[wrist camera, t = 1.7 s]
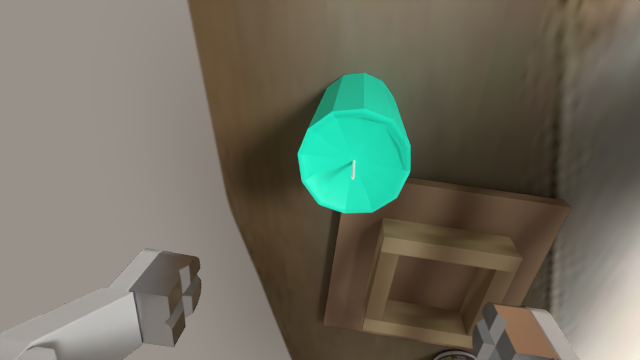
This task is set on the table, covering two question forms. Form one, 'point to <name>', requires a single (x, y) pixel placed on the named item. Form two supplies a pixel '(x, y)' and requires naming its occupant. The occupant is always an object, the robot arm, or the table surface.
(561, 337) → the robot arm
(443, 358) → the supplement bottle
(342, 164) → the candle
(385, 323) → the candle holder
